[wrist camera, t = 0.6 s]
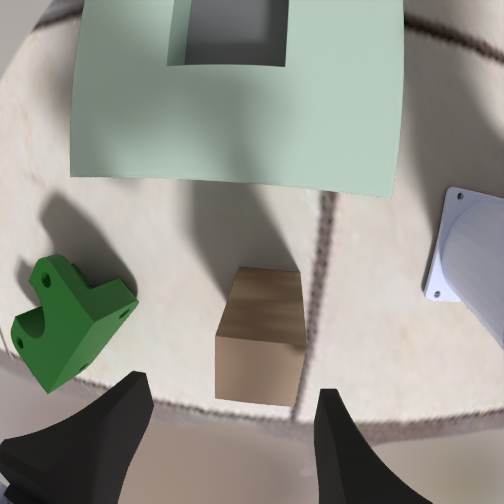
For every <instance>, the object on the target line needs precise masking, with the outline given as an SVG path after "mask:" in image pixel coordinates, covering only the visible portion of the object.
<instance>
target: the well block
mask: <svg viewBox="0 0 504 504" xmlns="http://www.w3.org/2000/svg"><path fill="white" fill-rule="evenodd" d="M403 79H404V16H403V0H85V3H84V7H83V13H82V18H81V24H80V29H79V36H78V42H77V50H76V57H75V66H74V76H73V87H72V100H71V120H70V177H135V178H168V179H191V180H209V181H225V182H240V183H253V184H265V185H276V186H287V187H297V188H307V189H316V190H325V191H334V192H342V193H350V194H358V195H366V196H373V197H380V198H387V199H392V196H393V190H394V182H395V175H396V167H397V159H398V149H399V140H400V128H401V116H402V100H403Z"/></svg>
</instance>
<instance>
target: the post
mask: <svg viewBox="0 0 504 504" xmlns="http://www.w3.org/2000/svg"><path fill="white" fill-rule="evenodd" d="M306 346H307V343H306V330H305V318H304V307H303V296H302V285H301V275H300V272H289V271H279V270H268V269H258V268H248V267H239V268H238V271H237V274H236V277H235V280H234V283H233V286H232V289H231V292H230V294H229V297H228V300H227V303H226V306H225V309H224V312H223V315H222V318H221V321H220V323H219V326H218V329H217V332H216V335H215V398H217V399H224V400H231V401H239V402H247V403H256V404H266V405H278V406H291V407H294V404H295V399H296V395H297V390H298V385H299V381H300V376H301V371H302V366H303V361H304V356H305V351H306Z"/></svg>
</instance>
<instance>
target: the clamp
mask: <svg viewBox="0 0 504 504" xmlns="http://www.w3.org/2000/svg"><path fill="white" fill-rule="evenodd" d="M29 283H30V284H31V285H32V286H33V288H34V289H35V291H36V293H37V295H38V297H39V299H40V301H41V304H42V306H40V307H38V308H35V309H33V310H30V311H28V312H25V313H23V314H20V315H18V316H15V319H14V322H13V325H12V328H11V338H12V342H13V344H14V346H15V348H16V350H17V352H18V353H19V355H20V356H21V358H22V359H23V361H24V362H25V364H26V365H27V366H28V368H29V369H30V371H31V372H32V374H33V375H34V376H35V378H36V379H37V380H38V382H39V383H40V385H41V386H42V387H43V389H44V390H45V391H46V392H47V394H49V393H50V392H52V391H53V390H55V389H56V388H58V387H60V386H61V385H63V384H64V383H66V382H67V381H69V380H70V379H72V378H73V377H75V376H76V375H78V374H79V373H81V372H82V371H83V370H84V369H86V368H87V367H88V366H89V365H90V364H91V363H92V362H93V361H94V359H95V358H96V357H97V355H98V354H99V353H100V352H101V350H102V349H103V348H104V346H105V345H106V344H107V343H108V341H109V340H110V339H111V338H112V336H113V335H114V334H115V332H116V331H117V330H118V329H119V327H120V326H121V325H122V324H123V322H124V321H125V320H126V319H127V318H128V316H129V315H130V314H131V313H132V311H133V310H134V309H135V308H136V306H137V305H138V303H139V301H138V300H137V299H136V297H135V296H134V295H133V294H132V293H131V291H130V290H129V289H128V288H127V287H126V285H125V284H124V283H123V282H122V280H121V279H115V280H113V281H110V282H108V283H105V284H103V285H100V286H98V287H95V288H92V287H91V286H90V285H89V283H88V282H87V281H86V279H85V278H84V277H83V275H82V274H81V272H80V271H79V270H78V268H77V267H76V266H75V265H74V264H71V265H70V263H69V262H68V260H67V259H66V258H65V257H64V256H62V255H60V254H56V255H52V256H48V257H44V258H41V259H39V260H38V261H37V263H36V265H35V267H34V270H33V272H32V274H31V277H30V279H29Z"/></svg>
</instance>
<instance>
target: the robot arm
mask: <svg viewBox="0 0 504 504" xmlns="http://www.w3.org/2000/svg"><path fill="white" fill-rule="evenodd" d="M459 193H461V197H460V198H459V199H458V198H457V195H458V194H459ZM437 291H438V294H437V295H434V294H435V292H437ZM424 296H425V298H426V299H427V300H436V301H455V302H463V303H464V304H465V305H466V306H467V308H468V309H469V310H470V311H471V312H472V313H473V314H474V316H475V317H476V318H477V319H478V320H479V321H480V323H481V324H482V325H483V326H484V327H485V329H486V330H487V331H488V332H489V333H490V335H491V336H492V337H493V338H494V339H495V341H496V342H497V343H498V344H499V346H500V347H501V348H502V349H503V351H504V199H503V198H499V197H495V196H491V195H487V194H483V193H479V192H475V191H470V190H466V189H461V188H457V187H450V188H448V190H447V192H446V196H445V202H444V208H443V213H442V219H441V224H440V229H439V233H438V238H437V242H436V247H435V251H434V255H433V259H432V263H431V267H430V271H429V275H428V279H427V282H426V286H425V290H424ZM153 407H154V403H153V400H152V396H151V392H150V388H149V384H148V380H147V376H146V373H143V372H137V371H132V372H131V373H129V374H128V375H127V376H126V377H124V378H123V379H122V380H121V381H120V382H118V383H117V384H116V385H115V386H113V387H112V388H111V389H110V390H108V391H107V392H106V393H105V394H103V395H102V396H101V397H99V398H98V399H97V400H95V401H94V402H92V403H91V404H89V405H88V406H87V407H85V408H84V409H82V410H81V411H79V412H77V413H76V414H74V415H73V416H70V417H69V418H67V419H65V420H63V421H61V422H59V423H57V424H54V425H52V426H50V427H48V428H45V429H43V430H40V431H37V432H34V433H31V434H28V435H24V436H19V437H15V438H10V439H5V440H4V441H3V442H2V443H1V444H0V473H1V474H2V475H3V476H4V477H5V478H6V480H7V481H8V482H9V483H10V485H9V486H8V488H7V487H6V486H5V485H4V484H2V483H1V482H0V504H118V499H119V496H120V492H121V489H122V485H123V482H124V479H125V476H126V472H127V470H128V467H129V465H130V462H131V460H132V458H133V456H134V454H135V451H136V450H137V448H138V445H139V443H140V441H141V439H142V437H143V435H144V433H145V431H146V428H147V426H148V424H149V421H150V418H151V414H152V411H153ZM314 447H315V456H316V465H317V475H318V484H319V504H433V503H432V502H430V501H429V500H427V499H426V498H424V497H423V496H421V495H419V494H418V493H417V492H415V491H414V490H412V489H411V488H410V487H409V486H408V485H406V484H405V483H404V482H403V481H402V480H401V479H400V478H398V477H397V476H396V475H395V474H394V473H393V472H392V471H391V470H390V469H389V468H388V467H387V466H386V465H385V464H384V463H383V462H382V461H381V460H380V458H379V457H378V456H377V455H376V454H375V452H374V451H373V450H372V449H371V447H370V446H369V445H368V443H367V442H366V440H365V439H364V437H363V436H362V434H361V433H360V431H359V430H358V428H357V427H356V425H355V423H354V422H353V420H352V418H351V417H350V415H349V413H348V411H347V409H346V407H345V405H344V403H343V401H342V399H341V397H340V395H339V392H338V390H337V389H320V395H319V400H318V405H317V410H316V415H315V420H314Z"/></svg>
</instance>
